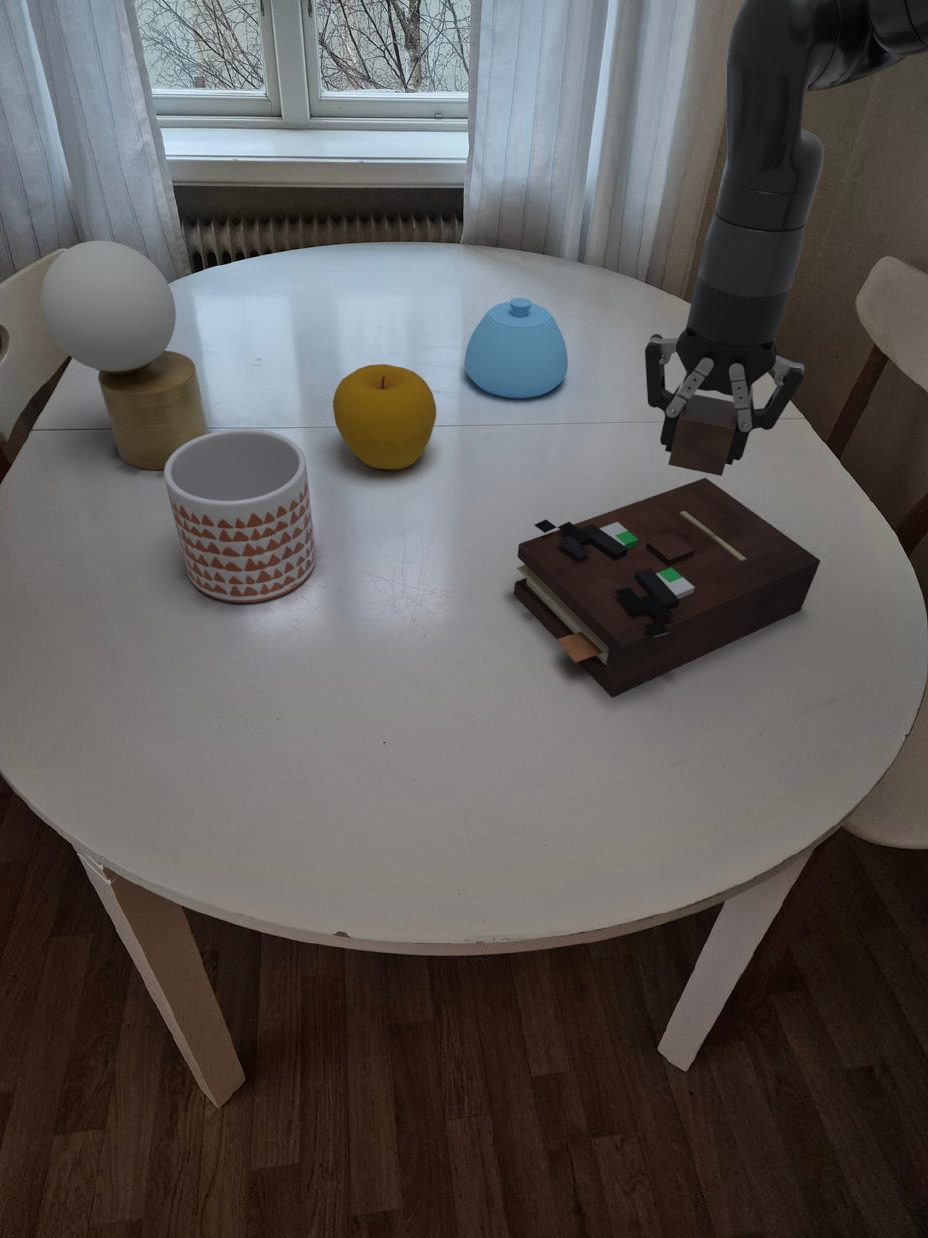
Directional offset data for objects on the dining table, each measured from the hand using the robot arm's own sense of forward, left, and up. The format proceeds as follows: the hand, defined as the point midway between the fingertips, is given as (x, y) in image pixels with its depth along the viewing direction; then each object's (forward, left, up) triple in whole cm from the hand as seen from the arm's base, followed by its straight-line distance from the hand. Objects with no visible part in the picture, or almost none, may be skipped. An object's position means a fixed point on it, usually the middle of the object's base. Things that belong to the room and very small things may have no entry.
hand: (699, 453), depth 82 cm
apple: (+38, -12, -17) cm, 43 cm away
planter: (+43, +13, -17) cm, 48 cm away
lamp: (+67, -3, -17) cm, 69 cm away
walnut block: (0, 0, 0) cm, 0 cm away
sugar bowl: (+29, -39, -17) cm, 52 cm away
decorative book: (0, +3, -17) cm, 17 cm away
